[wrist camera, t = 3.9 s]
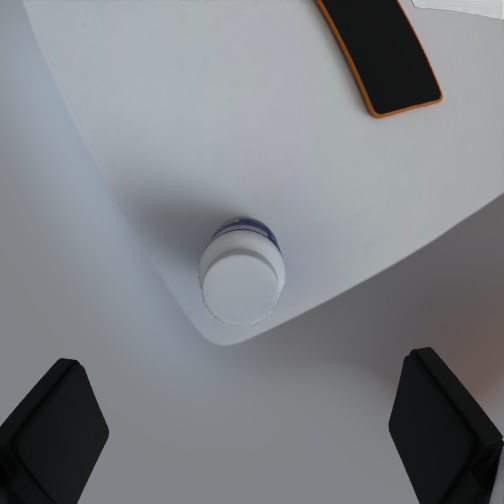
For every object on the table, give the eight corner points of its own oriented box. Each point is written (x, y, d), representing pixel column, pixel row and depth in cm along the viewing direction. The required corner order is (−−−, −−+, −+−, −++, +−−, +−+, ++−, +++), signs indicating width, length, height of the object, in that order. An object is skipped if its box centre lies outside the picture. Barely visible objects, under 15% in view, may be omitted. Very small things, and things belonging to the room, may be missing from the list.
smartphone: (371, 121, 22) (375, 119, 21) (287, -41, 18) (288, -46, 17) (442, 101, 21) (447, 100, 21) (361, -50, 17) (363, -54, 17)
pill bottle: (275, 283, 26) (287, 340, 17) (210, 281, 26) (190, 335, 17) (280, 217, 24) (295, 244, 16) (210, 214, 24) (187, 240, 16)
